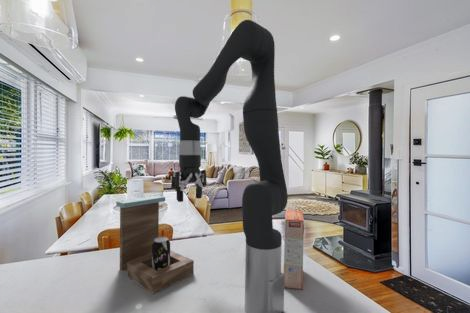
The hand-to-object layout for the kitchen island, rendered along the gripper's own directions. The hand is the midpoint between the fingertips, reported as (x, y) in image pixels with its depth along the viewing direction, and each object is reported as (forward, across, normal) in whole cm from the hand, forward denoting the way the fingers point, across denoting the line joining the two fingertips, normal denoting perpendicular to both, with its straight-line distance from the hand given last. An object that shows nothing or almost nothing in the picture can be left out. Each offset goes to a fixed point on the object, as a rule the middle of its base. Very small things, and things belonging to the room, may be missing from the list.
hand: (189, 199), depth 85 cm
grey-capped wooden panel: (+24, -9, +16) cm, 30 cm away
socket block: (+24, -10, +3) cm, 26 cm away
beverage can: (+24, -10, +3) cm, 26 cm away
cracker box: (+24, +16, -32) cm, 43 cm away
